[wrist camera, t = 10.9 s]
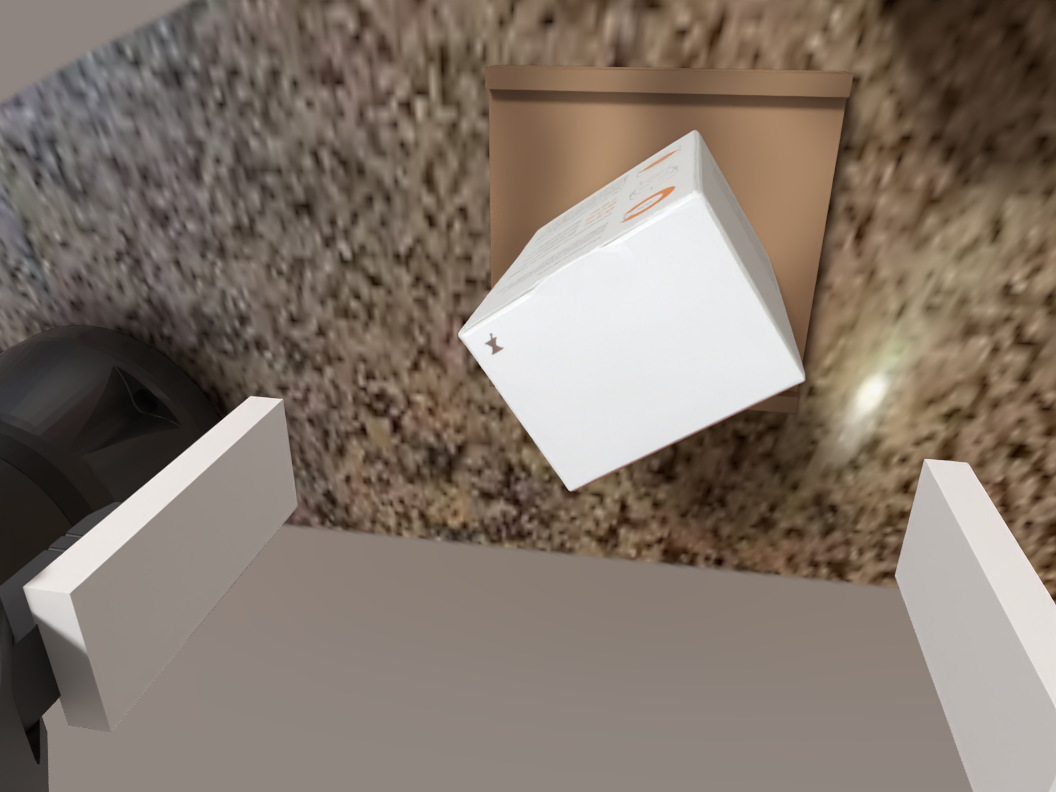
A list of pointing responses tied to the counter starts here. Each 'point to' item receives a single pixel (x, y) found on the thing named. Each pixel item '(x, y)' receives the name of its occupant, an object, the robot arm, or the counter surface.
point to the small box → (637, 319)
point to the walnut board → (653, 124)
